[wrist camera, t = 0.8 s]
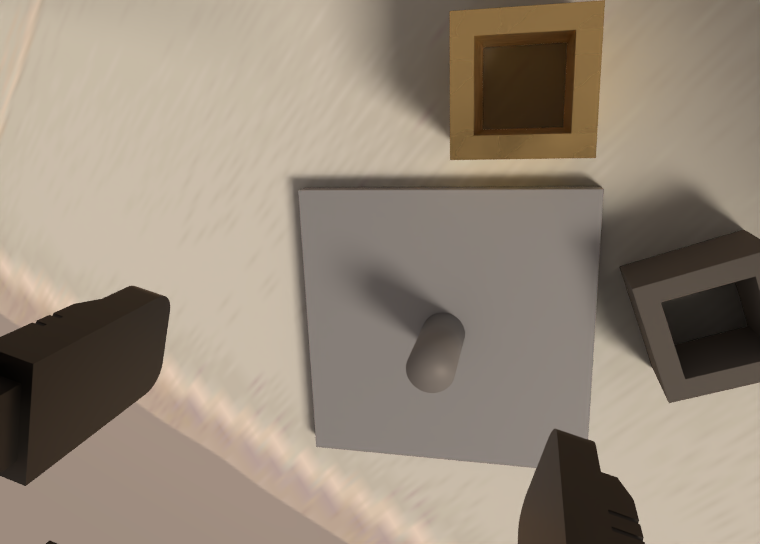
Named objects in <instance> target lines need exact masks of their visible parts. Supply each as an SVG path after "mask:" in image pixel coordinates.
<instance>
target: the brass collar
mask: <svg viewBox="0 0 760 544" xmlns="http://www.w3.org/2000/svg"><path fill="white" fill-rule="evenodd" d="M604 7H605V0H603V1H589V2H574V3H560V4H546V5H531V6H517V7H503V8H488V9H474V10H459V11H450V160H478V159H547V158H596V144H597V126H598V109H599V92H600V75H601V58H602V41H603V24H604ZM554 43H567V51H566V73H565V96H564V119H563V127H550V128H511V129H483V61H484V47H500V46H518V45H536V44H554Z"/></svg>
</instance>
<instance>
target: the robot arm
mask: <svg viewBox="0 0 760 544" xmlns="http://www.w3.org/2000/svg"><path fill="white" fill-rule="evenodd" d="M169 314H170V302H169V299H168V298H167V297H166V296H163V295H160V294H157V293H154V292H151V291H148V290H145V289H142V288H139V287H136V286H129V287H126V288H124V289H122V290H120V291H118V292H116V293H114V294H111V295H109V296H107V297H105V298H103V299H98V300H93V301H88V302H82V303H77V304H73V305H71V306H68V307H66V308H64V309H62V310H59V311H57V312H55V313H54V314H53V316H51V315H48V316H46V317H44V318H42V319H39V320H37V322H36V323H30V324H28V325H26V326H24V327H22V328H19V329H17V330H15V331H13V332H10V333H8V334H6V335H4V336H2V337H0V476H2V477H5V478H7V479H10V480H12V481H14V482H17V483H19V484H22V485H24V486H26V485H28V484H29V483H30V482H31V481H33V480H34V479H35V478H37V477H38V476H39V475H41V474H42V473H43V472H45V470H47V469H48V468H50V467H51V466H52V465H54V464H55V463H56V462H58V461H59V460H60V459H62V458H63V457H64V456H65V455H67V454H68V453H69V452H71V451H72V450H73V449H75V448H76V447H77V446H78V445H80V444H81V443H82V442H84V441H85V440H86V439H87V438H89V437H90V436H92V435H93V434H94V433H95V432H97V431H98V430H99V429H101V428H102V427H103V426H105V425H106V424H107V423H108V422H110V421H111V420H112V419H114V418H115V417H116V416H118V415H119V414H120V413H122V412H123V411H124V410H125V409H127V408H128V407H129V406H131V405H132V404H133V403H135V402H136V401H137V400H138V399H140V398H141V397H142V396H144V395H145V394H146V393H147V392H149V390H150V389H151V388H152V387H153V385H154V384H155V382H156V380H157V378H158V376H159V374H160V371H161V368H162V363H163V356H164V349H165V342H166V335H167V328H168V321H169ZM638 521H639V519H638V515H637V511H636V507H635V503H634V500H633V498H632V497H631V495H630V494H629V493H628V491H627V490H626V489H625V487H624V486H623V485H622V483H621V482H620V481H619V479H618V478H617V477H614V476H611V475H608V474H605V473H602V472H601V470H600V465H599V460H598V455H597V449H596V445H595V442H594V441H591V440H588V439H585V438H582V437H579V436H576V435H573V434H570V433H567V432H564V431H561V430H558V429H553V430H552V432H551V434H550V436H549V438H548V440H547V443H546V445H545V448H544V450H543V453H542V455H541V458H540V461H539V463H538V466H537V468H536V471H535V473H534V476H533V479H532V481H531V484H530V486H529V489H528V491H527V494H526V497H525V500H524V503H523V507H522V510H521V515H520V520H519V528H518V544H645V542H643V534H642V530H641V526H640V524H638ZM46 544H57V543H54V542H52V541H49V542H47V543H46Z"/></svg>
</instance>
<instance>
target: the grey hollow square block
mask: <svg viewBox="0 0 760 544" xmlns="http://www.w3.org/2000/svg"><path fill="white" fill-rule="evenodd" d="M620 269H621V272H622V275H623V279H624V282H625V285H626V288H627V291H628V294H629V297H630V300H631V303H632V306H633V309H634V312H635V315H636V319H637V322H638V325H639V328H640V331H641V334H642V337H643V340H644V343H645V346H646V349H647V352H648V355H649V359H650V362H651V365H652V368H653V370H654V372H655V374H656V376H657V379H658V381H659V383H660V385H661V387H662V389H663V391H664V393H665V396H666V398H667V400H668V402H669V403H672V402H676V401H680V400H685V399H689V398H693V397H698V396H702V395H707V394H711V393H715V392H720V391H724V390H729V389H733V388H737V387H742V386H746V385H750V384H755V383H759V382H760V239H759V238H757V237H755V236H754V235H752V234H750V233H749V232H747V231H745V230H741V231H737V232H734V233H731V234H727V235H724V236H721V237H717V238H714V239H711V240H707V241H704V242H701V243H697V244H694V245H691V246H687V247H684V248H681V249H677V250H674V251H671V252H667V253H664V254H661V255H657V256H654V257H651V258H647V259H644V260H641V261H637V262H634V263H631V264H627V265H624V266H621V267H620ZM733 282H736V286H737V289H738V292H739V296H740V299H741V303H742V306H743V310H744V313H745V316H746V320H747V323H748V326H747V327H743V328H739V329H735V330H731V331H727V332H724V333H720V334H716V335H712V336H708V337H704V338H700V339H696V340H692V341H688V342H684V343H680V344H677V345H674V342H673V339H672V336H671V333H670V330H669V327H668V323H667V320H666V317H665V314H664V311H663V308H662V304H661V302H665V301H668V300H672V299H676V298H679V297H683V296H686V295H690V294H694V293H697V292H701V291H704V290H708V289H712V288H715V287H719V286H723V285H726V284H730V283H733Z"/></svg>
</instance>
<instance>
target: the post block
mask: <svg viewBox="0 0 760 544" xmlns="http://www.w3.org/2000/svg"><path fill="white" fill-rule="evenodd" d="M603 193H604V189H603V188H602V187H389V188H303V189H300V190H298V194H299V208H300V222H301V237H302V251H303V265H304V279H305V293H306V307H307V322H308V336H309V350H310V364H311V378H312V392H313V407H314V421H315V435H316V447H323V448H334V449H344V450H354V451H365V452H375V453H386V454H396V455H406V456H417V457H427V458H437V459H448V460H458V461H469V462H479V463H489V464H500V465H510V466H520V467H531V468H537V466H538V463H539V461H540V458H541V455H542V453H543V450H544V448H545V445H546V443H547V440H548V438H549V436H550V434H551V432H552V430H553V429H558V430H561V431H564V432H567V433H570V434H573V435H576V436H579V437H582V438H585V439H588V432H589V416H590V400H591V384H592V368H593V352H594V336H595V320H596V304H597V288H598V273H599V257H600V241H601V225H602V209H603Z"/></svg>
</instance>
